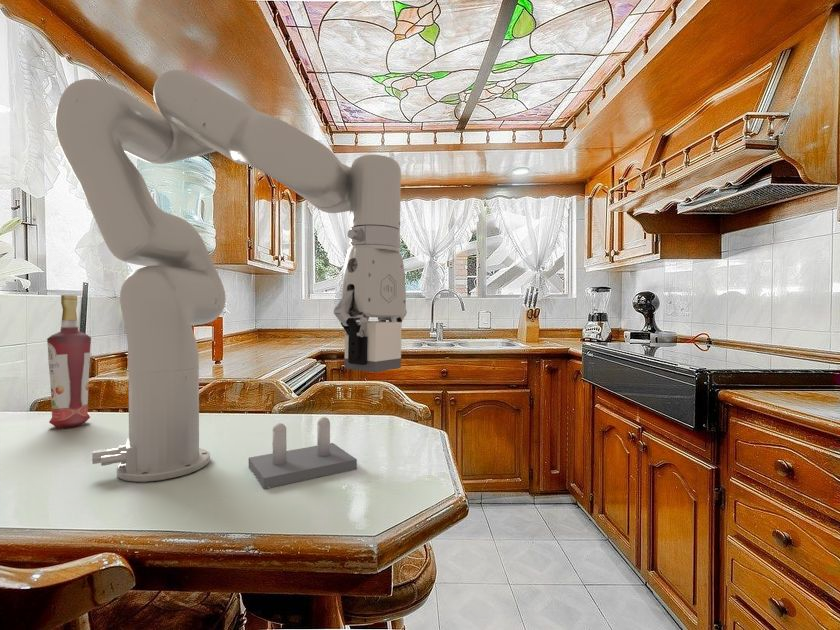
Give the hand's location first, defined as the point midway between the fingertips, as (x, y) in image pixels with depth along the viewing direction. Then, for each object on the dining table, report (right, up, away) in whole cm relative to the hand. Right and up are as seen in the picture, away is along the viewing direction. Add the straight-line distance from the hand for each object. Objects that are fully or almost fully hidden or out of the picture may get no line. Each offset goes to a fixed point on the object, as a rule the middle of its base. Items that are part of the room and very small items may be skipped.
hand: (372, 360), depth 65 cm
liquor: (-68, -17, +28) cm, 76 cm away
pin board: (-11, -17, +3) cm, 21 cm away
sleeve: (0, -1, 0) cm, 1 cm away
